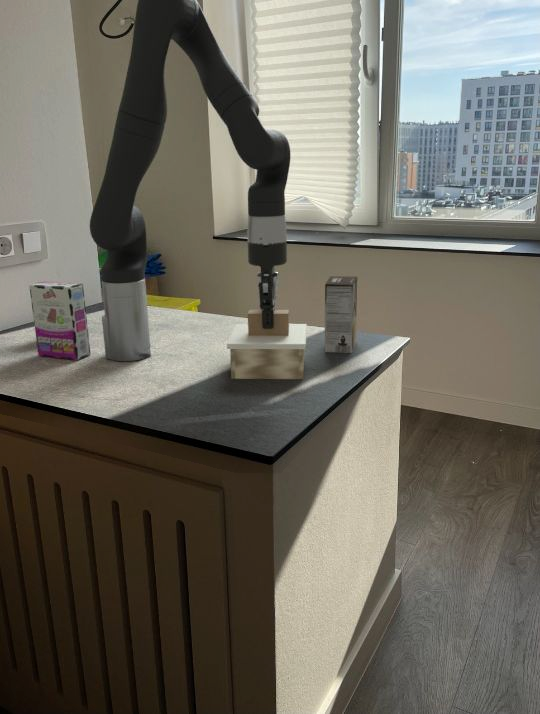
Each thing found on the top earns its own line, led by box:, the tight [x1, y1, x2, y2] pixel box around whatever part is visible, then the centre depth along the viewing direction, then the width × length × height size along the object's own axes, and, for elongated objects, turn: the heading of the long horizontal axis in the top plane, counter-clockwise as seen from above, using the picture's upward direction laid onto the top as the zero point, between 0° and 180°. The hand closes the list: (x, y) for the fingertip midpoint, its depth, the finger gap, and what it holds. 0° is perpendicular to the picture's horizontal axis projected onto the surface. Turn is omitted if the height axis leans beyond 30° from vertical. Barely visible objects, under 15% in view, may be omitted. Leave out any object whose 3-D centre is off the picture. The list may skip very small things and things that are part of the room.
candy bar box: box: [28, 281, 91, 361], centre depth 142 cm, size 11×5×16 cm, turn 68°
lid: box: [226, 309, 308, 350], centre depth 129 cm, size 15×15×6 cm
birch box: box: [229, 349, 305, 380], centre depth 131 cm, size 14×14×7 cm
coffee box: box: [324, 275, 358, 354], centre depth 143 cm, size 9×6×16 cm
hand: (268, 325), depth 129 cm, fingers closed on lid, 3 cm apart
